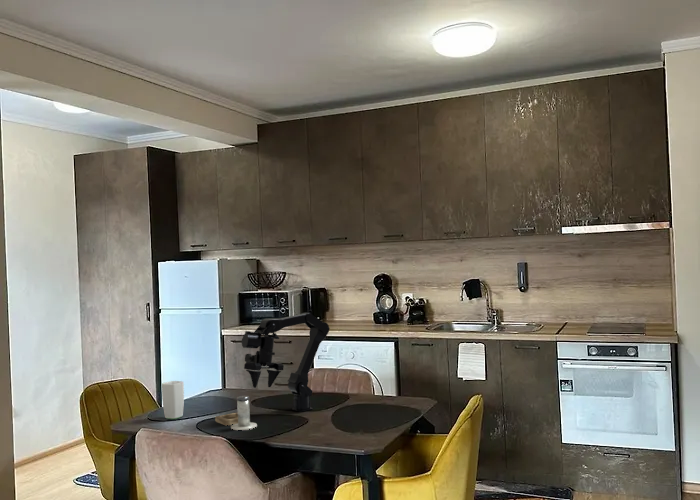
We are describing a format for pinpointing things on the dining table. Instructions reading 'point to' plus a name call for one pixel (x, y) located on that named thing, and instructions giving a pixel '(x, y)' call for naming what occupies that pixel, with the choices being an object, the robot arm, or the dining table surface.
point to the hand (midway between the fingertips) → (262, 387)
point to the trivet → (252, 425)
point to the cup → (173, 399)
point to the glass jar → (243, 411)
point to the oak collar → (227, 419)
